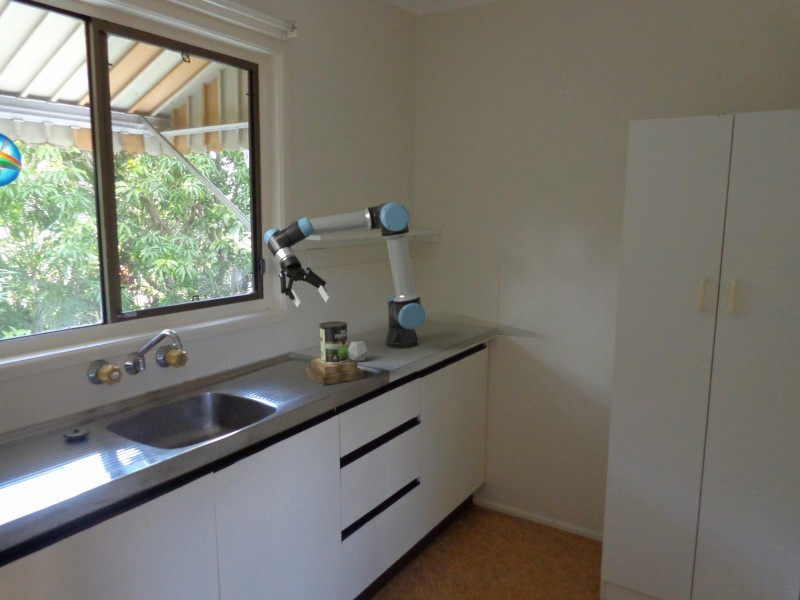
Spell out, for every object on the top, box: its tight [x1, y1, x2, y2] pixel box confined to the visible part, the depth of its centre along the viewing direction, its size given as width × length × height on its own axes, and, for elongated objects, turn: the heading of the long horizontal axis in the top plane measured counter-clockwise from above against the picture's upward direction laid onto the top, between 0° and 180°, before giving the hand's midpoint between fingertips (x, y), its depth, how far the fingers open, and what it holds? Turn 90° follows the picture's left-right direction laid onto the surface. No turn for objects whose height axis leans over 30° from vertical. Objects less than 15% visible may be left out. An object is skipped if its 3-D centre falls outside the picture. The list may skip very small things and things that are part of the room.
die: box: [348, 340, 369, 362], centre depth 241 cm, size 8×9×10 cm
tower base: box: [305, 357, 364, 386], centre depth 218 cm, size 16×16×6 cm
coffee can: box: [318, 320, 349, 364], centre depth 217 cm, size 10×10×14 cm
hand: (314, 302), depth 222 cm, fingers open, 13 cm apart
